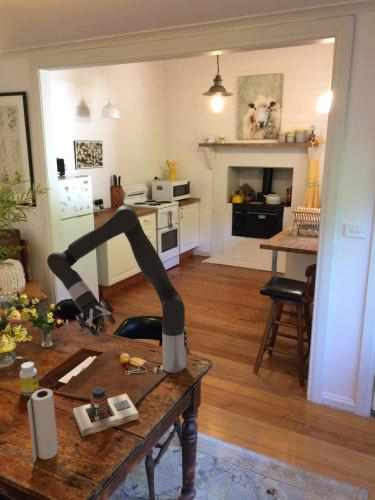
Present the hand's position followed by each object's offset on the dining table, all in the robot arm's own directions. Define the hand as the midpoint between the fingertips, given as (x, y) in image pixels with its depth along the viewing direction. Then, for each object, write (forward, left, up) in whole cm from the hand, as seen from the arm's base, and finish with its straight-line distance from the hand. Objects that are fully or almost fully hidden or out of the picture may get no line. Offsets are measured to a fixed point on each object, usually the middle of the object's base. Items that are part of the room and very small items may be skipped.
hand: (105, 329), depth 158 cm
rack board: (+6, +16, -26) cm, 31 cm away
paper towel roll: (+28, +25, -26) cm, 46 cm away
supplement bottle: (+8, +16, -26) cm, 32 cm away
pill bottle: (+28, -13, -26) cm, 40 cm away
